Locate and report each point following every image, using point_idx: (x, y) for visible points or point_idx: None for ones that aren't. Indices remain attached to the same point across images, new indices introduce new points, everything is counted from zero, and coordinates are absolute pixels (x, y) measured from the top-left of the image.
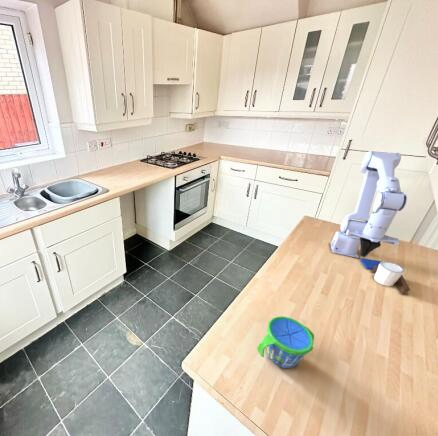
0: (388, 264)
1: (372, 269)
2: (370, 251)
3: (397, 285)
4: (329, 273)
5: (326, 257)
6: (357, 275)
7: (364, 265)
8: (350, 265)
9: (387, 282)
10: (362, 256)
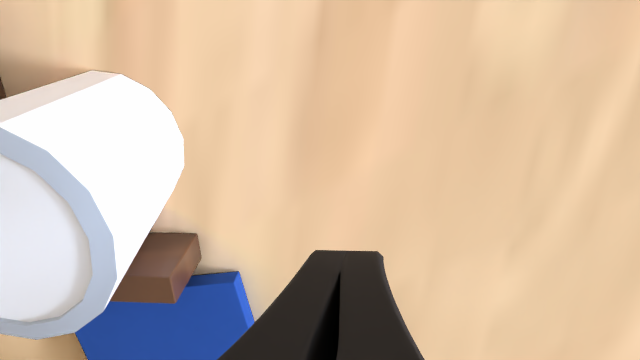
0: (31, 281)
1: (193, 266)
2: (245, 339)
3: None
4: (635, 11)
5: (580, 316)
6: (325, 125)
7: (250, 313)
8: None
9: (73, 80)
10: (352, 252)
